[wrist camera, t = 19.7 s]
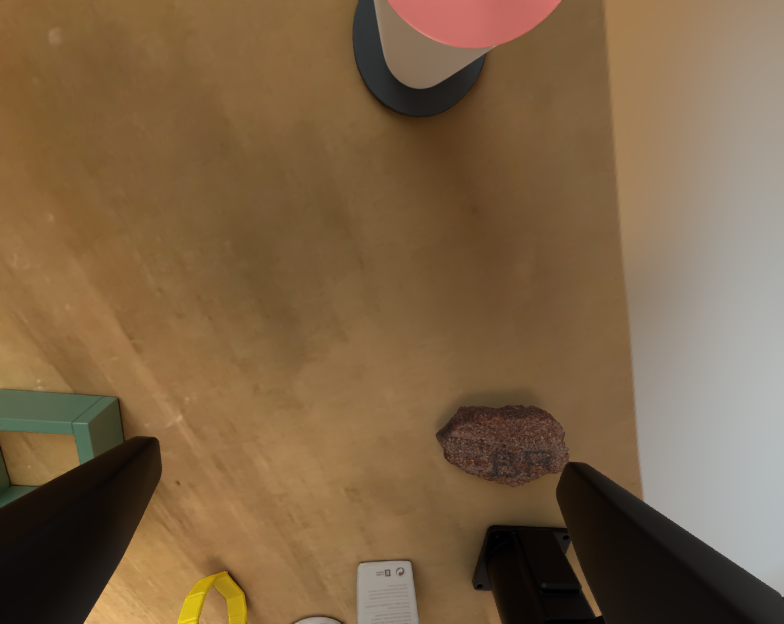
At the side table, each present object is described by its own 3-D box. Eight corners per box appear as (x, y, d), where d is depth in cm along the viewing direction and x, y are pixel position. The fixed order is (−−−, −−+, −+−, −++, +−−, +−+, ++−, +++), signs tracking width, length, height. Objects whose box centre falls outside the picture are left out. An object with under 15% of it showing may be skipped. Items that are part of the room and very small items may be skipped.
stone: (553, 452, 25) (577, 488, 22) (452, 482, 25) (463, 521, 22) (536, 372, 23) (561, 401, 20) (426, 406, 23) (434, 439, 20)
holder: (133, 499, 24) (107, 534, 22) (0, 494, 23) (-41, 529, 21) (118, 396, 21) (87, 423, 19) (-33, 386, 21) (-84, 412, 18)
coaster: (470, 126, 18) (472, 125, 17) (347, 106, 17) (346, 104, 17) (498, -28, 16) (501, -33, 15) (359, -57, 15) (359, -62, 15)
